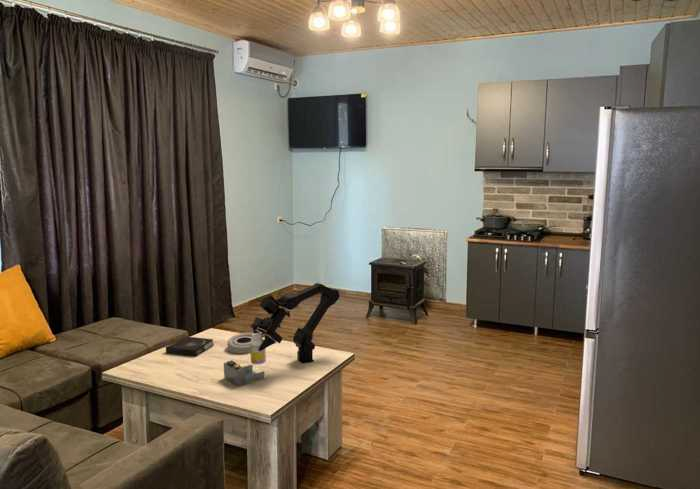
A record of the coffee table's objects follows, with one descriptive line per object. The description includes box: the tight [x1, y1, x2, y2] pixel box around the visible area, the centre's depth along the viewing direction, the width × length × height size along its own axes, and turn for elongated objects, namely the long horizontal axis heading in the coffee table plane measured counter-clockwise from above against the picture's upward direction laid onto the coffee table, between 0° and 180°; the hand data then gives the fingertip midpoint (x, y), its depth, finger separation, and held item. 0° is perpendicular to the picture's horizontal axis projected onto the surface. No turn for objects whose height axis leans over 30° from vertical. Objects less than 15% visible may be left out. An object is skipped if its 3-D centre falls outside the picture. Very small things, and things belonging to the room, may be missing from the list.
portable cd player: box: [165, 336, 215, 358], centre depth 274 cm, size 16×17×4 cm
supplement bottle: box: [249, 333, 267, 365], centre depth 241 cm, size 7×7×13 cm
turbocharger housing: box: [227, 332, 254, 355], centre depth 275 cm, size 17×6×15 cm
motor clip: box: [223, 360, 265, 387], centre depth 238 cm, size 14×12×8 cm
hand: (255, 348), depth 240 cm, fingers closed on supplement bottle, 7 cm apart
